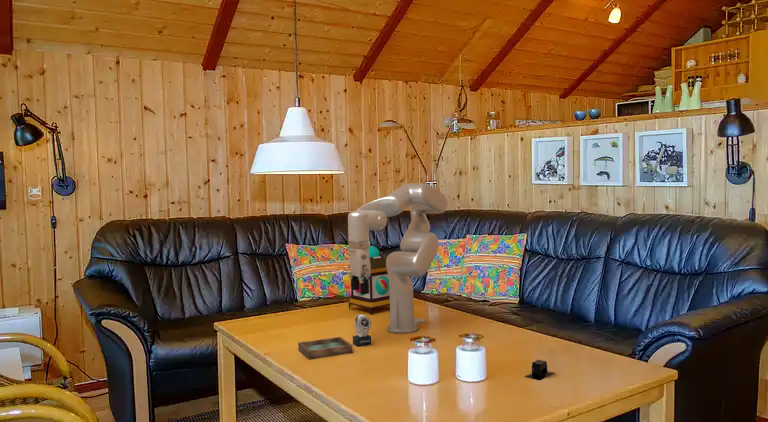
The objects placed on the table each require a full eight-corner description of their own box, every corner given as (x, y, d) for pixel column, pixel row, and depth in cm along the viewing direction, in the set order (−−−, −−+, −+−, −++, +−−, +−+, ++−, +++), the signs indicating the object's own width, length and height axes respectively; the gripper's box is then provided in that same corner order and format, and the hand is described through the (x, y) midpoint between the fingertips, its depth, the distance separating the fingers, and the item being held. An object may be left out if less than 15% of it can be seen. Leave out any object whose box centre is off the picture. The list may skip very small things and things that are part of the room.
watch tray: (340, 344, 223) (340, 336, 223) (352, 352, 211) (352, 345, 211) (298, 350, 217) (298, 342, 216) (308, 359, 205) (308, 351, 205)
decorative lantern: (377, 303, 296) (375, 242, 294) (404, 309, 280) (402, 245, 279) (344, 309, 283) (342, 246, 281) (370, 316, 268) (368, 249, 266)
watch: (360, 348, 217) (359, 318, 216) (350, 343, 224) (349, 314, 223) (374, 345, 219) (373, 316, 219) (364, 340, 226) (363, 312, 226)
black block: (539, 369, 189) (539, 354, 188) (561, 373, 183) (560, 359, 183) (518, 379, 180) (518, 364, 179) (540, 384, 175) (540, 369, 174)
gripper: (377, 246, 213) (378, 294, 214) (359, 243, 229) (360, 287, 230) (357, 248, 210) (358, 296, 211) (341, 244, 226) (342, 289, 227)
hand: (359, 291), depth 220 cm, fingers open, 9 cm apart
